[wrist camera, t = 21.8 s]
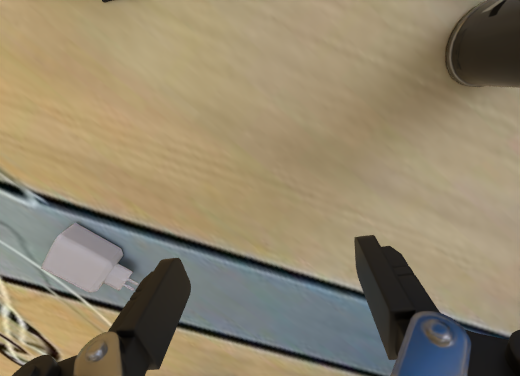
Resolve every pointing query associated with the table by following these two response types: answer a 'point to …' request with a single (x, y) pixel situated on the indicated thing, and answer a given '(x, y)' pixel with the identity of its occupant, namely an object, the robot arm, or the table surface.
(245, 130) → the table surface
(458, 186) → the table surface
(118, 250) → the charger
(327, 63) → the table surface
